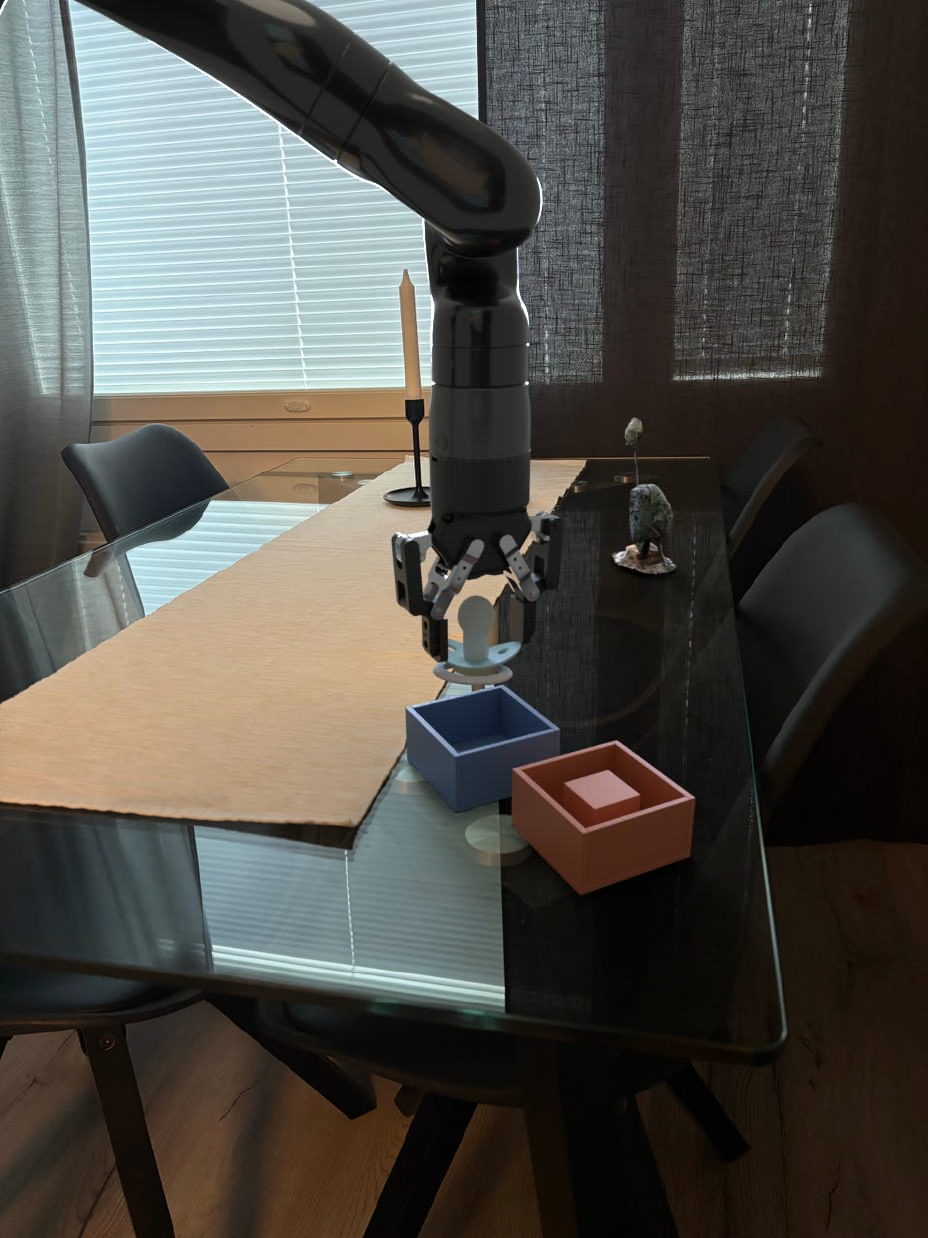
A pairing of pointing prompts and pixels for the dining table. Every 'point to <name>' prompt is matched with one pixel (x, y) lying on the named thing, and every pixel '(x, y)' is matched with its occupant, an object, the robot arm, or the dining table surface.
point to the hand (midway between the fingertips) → (479, 649)
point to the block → (599, 799)
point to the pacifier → (476, 648)
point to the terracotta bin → (611, 844)
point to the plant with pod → (645, 519)
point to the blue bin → (477, 744)
